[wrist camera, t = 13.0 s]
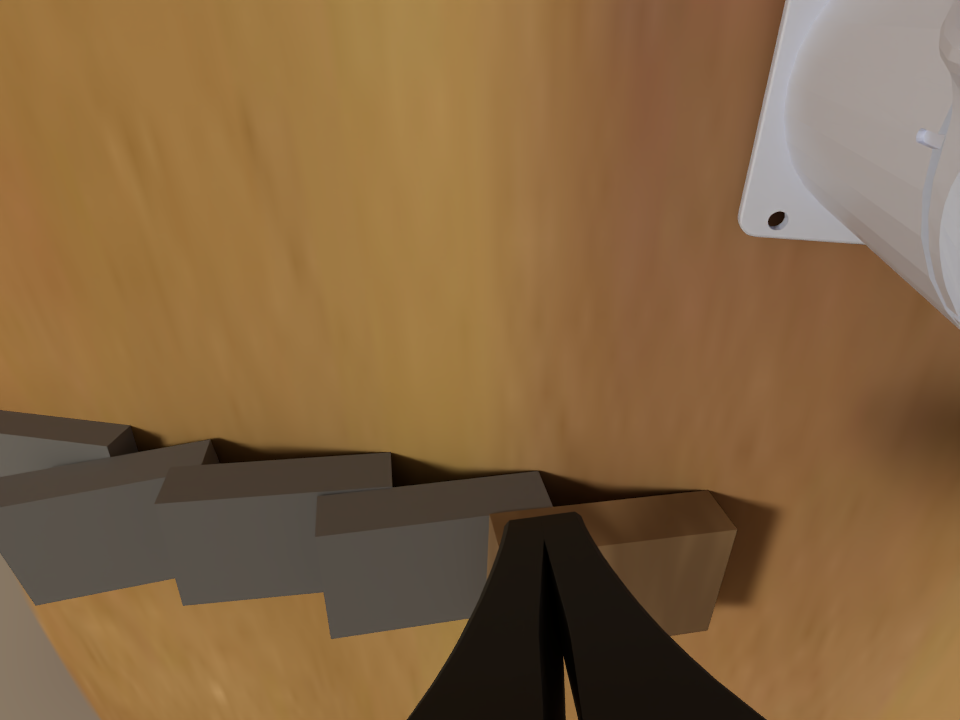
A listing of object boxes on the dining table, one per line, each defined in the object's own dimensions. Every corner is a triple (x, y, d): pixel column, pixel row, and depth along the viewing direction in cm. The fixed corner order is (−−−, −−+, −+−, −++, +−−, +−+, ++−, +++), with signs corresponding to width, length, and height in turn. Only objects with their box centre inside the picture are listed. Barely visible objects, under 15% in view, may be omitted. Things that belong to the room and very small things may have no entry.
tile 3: (199, 470, 24) (-28, 512, 23) (238, 565, 26) (35, 605, 26) (210, 439, 26) (0, 476, 25) (246, 530, 28) (56, 567, 27)
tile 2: (392, 486, 23) (154, 504, 22) (397, 584, 25) (183, 605, 24) (390, 452, 25) (169, 466, 24) (395, 547, 27) (195, 565, 26)
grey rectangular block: (553, 507, 22) (314, 537, 21) (544, 607, 25) (330, 638, 23) (538, 470, 24) (317, 495, 23) (531, 567, 26) (331, 594, 25)
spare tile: (737, 529, 21) (501, 557, 20) (707, 630, 24) (495, 661, 22) (708, 490, 23) (489, 513, 22) (682, 587, 26) (485, 614, 24)
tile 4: (106, 446, 25) (-73, 424, 26) (137, 541, 27) (-28, 518, 28) (138, 418, 27) (-31, 398, 28) (165, 509, 29) (8, 488, 30)
